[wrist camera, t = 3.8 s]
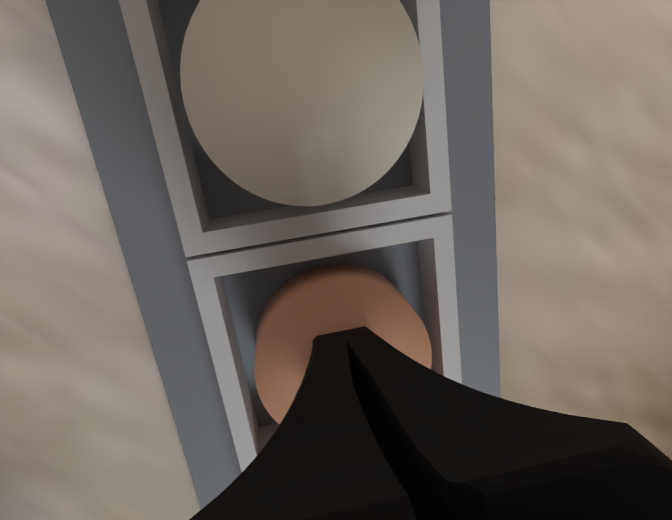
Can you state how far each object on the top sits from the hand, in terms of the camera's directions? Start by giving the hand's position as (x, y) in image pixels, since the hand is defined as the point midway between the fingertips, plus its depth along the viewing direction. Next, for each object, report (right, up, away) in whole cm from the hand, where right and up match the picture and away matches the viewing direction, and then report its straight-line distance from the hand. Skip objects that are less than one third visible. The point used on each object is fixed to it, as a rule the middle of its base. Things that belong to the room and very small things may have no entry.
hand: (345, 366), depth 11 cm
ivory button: (-1, +6, -1) cm, 7 cm away
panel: (0, +1, +3) cm, 3 cm away
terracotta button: (0, 0, +1) cm, 1 cm away
